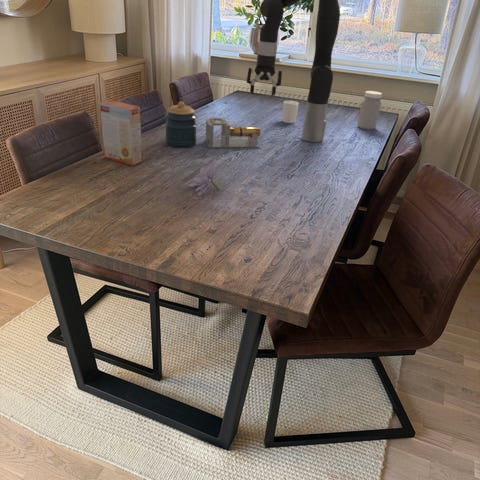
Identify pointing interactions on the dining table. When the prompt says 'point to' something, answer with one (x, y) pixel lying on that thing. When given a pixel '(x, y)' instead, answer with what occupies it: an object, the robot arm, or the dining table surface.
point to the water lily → (206, 177)
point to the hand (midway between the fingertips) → (262, 95)
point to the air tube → (244, 131)
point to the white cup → (290, 111)
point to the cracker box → (121, 132)
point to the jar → (369, 110)
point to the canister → (180, 126)
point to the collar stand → (227, 136)
